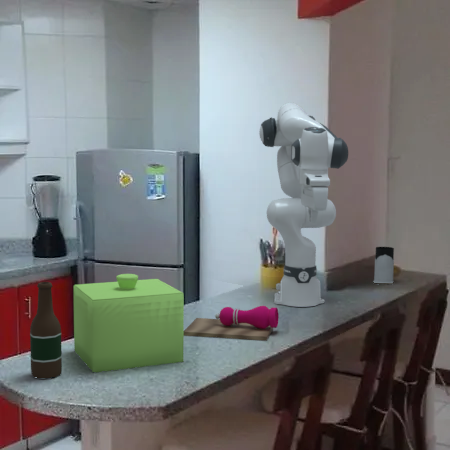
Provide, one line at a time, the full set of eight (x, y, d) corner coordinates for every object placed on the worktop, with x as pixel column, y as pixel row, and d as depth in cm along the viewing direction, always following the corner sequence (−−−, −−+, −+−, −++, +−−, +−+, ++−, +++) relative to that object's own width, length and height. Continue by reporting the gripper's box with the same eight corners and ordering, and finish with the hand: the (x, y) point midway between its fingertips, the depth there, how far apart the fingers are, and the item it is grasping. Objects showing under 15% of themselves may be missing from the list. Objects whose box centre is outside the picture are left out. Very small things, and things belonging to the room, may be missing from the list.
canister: (93, 373, 193) (92, 285, 190) (74, 351, 212) (73, 271, 209) (183, 362, 203) (183, 278, 200) (157, 342, 222) (157, 265, 220)
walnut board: (183, 335, 230) (183, 331, 229) (196, 321, 247) (196, 317, 247) (266, 340, 225) (266, 336, 224) (274, 325, 242) (274, 322, 242)
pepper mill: (274, 308, 229) (211, 306, 234) (274, 331, 229) (212, 329, 235) (278, 304, 236) (217, 302, 241) (279, 326, 236) (218, 324, 242)
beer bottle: (33, 370, 194) (31, 279, 191) (63, 369, 195) (62, 279, 192) (28, 380, 187) (26, 285, 184) (59, 379, 187) (58, 285, 184)
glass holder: (373, 284, 312) (374, 249, 310) (372, 278, 326) (373, 244, 324) (394, 285, 311) (396, 249, 309) (392, 279, 325) (394, 245, 323)
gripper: (297, 177, 246) (296, 218, 247) (311, 180, 226) (310, 226, 227) (315, 177, 247) (314, 218, 248) (331, 180, 226) (330, 226, 228)
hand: (312, 222), depth 238 cm, fingers closed
